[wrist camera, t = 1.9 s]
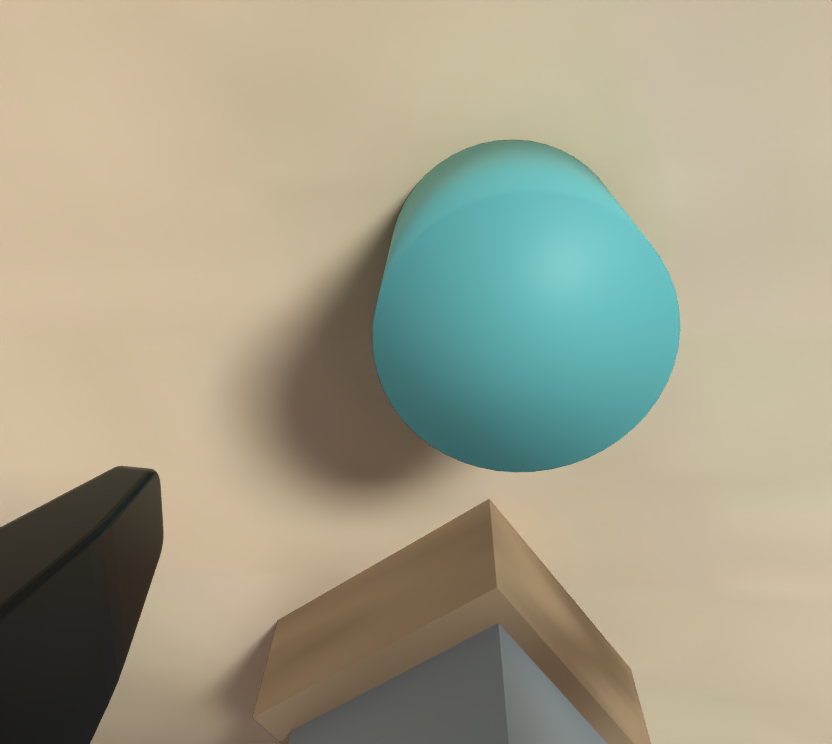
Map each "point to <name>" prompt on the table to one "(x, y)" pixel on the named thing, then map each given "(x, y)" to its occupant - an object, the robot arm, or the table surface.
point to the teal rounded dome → (521, 311)
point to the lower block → (444, 629)
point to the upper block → (458, 703)
